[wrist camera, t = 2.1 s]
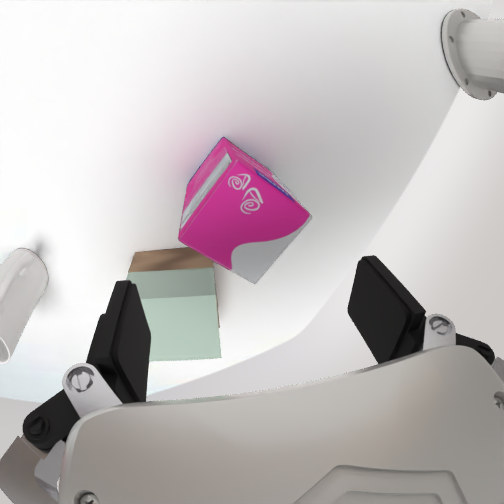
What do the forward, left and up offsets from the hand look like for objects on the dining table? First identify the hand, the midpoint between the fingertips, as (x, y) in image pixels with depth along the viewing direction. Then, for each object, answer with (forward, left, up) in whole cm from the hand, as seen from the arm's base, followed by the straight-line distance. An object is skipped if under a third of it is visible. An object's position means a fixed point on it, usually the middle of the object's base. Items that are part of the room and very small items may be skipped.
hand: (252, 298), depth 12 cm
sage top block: (+6, +11, -13) cm, 18 cm away
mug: (+24, +7, -17) cm, 30 cm away
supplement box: (0, 0, -17) cm, 17 cm away
